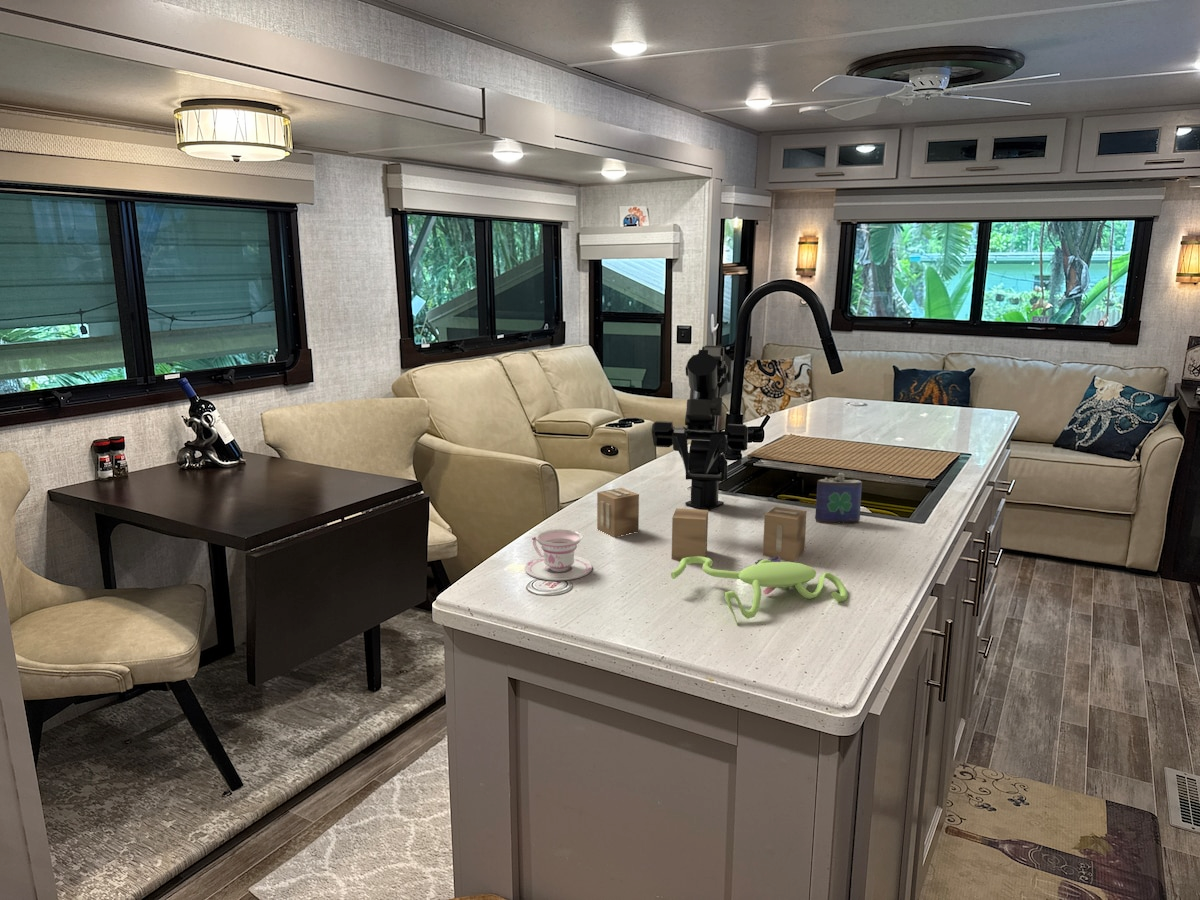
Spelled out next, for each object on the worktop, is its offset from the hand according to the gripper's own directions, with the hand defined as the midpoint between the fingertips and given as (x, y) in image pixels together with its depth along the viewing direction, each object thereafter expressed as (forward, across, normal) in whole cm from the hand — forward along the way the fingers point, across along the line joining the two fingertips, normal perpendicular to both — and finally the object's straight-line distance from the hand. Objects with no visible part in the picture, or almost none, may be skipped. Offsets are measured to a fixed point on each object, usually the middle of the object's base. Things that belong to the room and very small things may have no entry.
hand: (696, 472), depth 158 cm
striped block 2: (+13, +17, +6) cm, 22 cm away
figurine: (+28, +13, -8) cm, 32 cm away
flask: (-3, +28, +22) cm, 36 cm away
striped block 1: (+8, -16, +11) cm, 21 cm away
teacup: (+25, -22, -5) cm, 34 cm away
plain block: (+16, 0, +3) cm, 16 cm away
